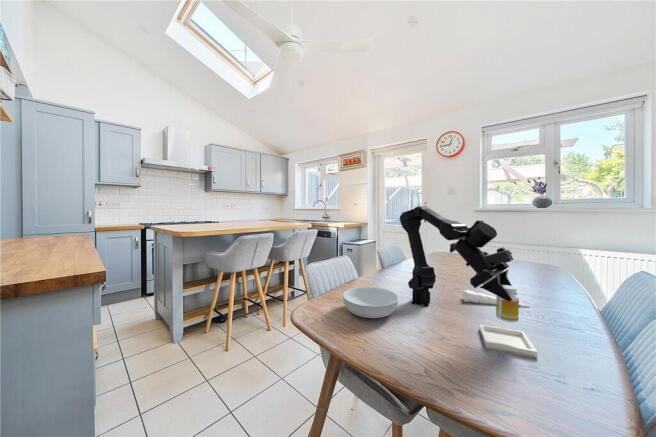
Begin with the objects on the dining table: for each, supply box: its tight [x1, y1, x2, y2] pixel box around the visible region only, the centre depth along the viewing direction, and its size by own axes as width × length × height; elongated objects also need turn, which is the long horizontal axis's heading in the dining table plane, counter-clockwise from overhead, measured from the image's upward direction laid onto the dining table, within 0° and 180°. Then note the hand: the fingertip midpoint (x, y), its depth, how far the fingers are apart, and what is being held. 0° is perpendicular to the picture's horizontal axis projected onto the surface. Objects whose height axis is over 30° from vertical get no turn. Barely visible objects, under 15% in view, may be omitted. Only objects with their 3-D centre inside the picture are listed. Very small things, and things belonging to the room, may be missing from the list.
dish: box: [479, 323, 538, 359], centre depth 72 cm, size 12×12×2 cm
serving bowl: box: [342, 286, 399, 319], centre depth 93 cm, size 21×21×7 cm
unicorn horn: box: [462, 289, 531, 308], centre depth 101 cm, size 5×24×5 cm, turn 68°
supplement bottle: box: [495, 285, 520, 324], centre depth 73 cm, size 5×5×10 cm
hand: (513, 298), depth 72 cm, fingers closed on supplement bottle, 5 cm apart
